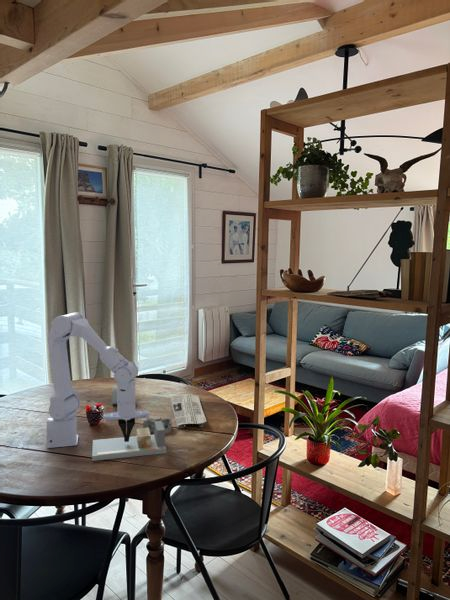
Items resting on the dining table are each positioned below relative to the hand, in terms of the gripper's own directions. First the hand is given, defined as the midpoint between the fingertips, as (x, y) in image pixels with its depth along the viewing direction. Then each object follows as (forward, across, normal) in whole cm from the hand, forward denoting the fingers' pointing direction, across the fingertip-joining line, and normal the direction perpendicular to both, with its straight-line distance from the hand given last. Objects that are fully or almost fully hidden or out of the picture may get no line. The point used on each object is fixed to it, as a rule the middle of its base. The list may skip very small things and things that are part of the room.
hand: (126, 440), depth 144 cm
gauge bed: (+3, +1, 0) cm, 3 cm away
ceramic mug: (+3, +1, +46) cm, 46 cm away
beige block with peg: (+1, +6, -1) cm, 6 cm away
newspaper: (+4, +26, +28) cm, 39 cm away
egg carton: (+3, +12, +13) cm, 18 cm away
